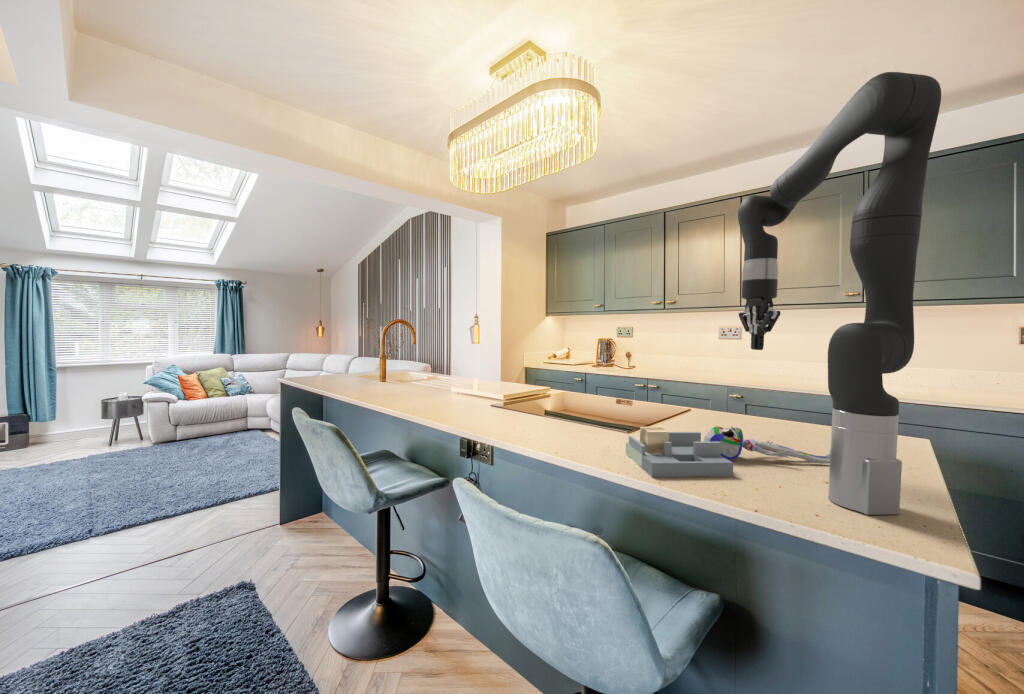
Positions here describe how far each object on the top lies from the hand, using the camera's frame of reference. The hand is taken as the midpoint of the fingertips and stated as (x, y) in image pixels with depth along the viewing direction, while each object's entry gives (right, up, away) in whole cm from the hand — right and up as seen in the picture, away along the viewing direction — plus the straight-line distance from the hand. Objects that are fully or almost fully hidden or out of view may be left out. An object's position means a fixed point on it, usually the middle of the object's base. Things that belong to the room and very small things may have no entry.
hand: (756, 349), depth 104 cm
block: (-27, -24, -4) cm, 36 cm away
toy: (+3, -28, -1) cm, 28 cm away
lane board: (-22, -27, -5) cm, 35 cm away
